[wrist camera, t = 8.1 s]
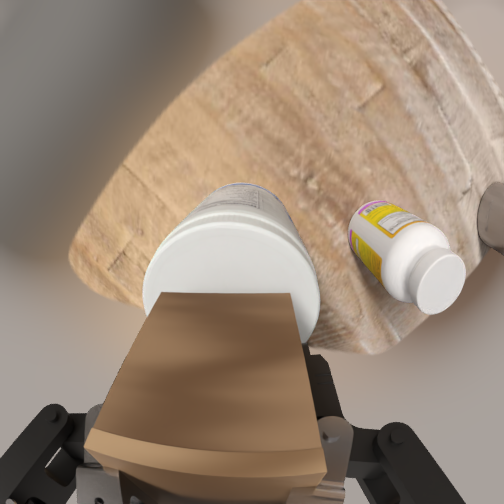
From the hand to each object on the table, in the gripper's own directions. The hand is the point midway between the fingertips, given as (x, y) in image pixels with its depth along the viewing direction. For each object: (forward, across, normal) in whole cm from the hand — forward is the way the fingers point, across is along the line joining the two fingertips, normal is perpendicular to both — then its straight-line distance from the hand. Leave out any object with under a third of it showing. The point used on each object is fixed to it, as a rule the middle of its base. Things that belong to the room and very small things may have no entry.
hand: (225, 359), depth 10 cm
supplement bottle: (+18, -14, 0) cm, 23 cm away
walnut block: (+1, 0, 0) cm, 1 cm away
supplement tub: (+18, 0, 0) cm, 18 cm away
